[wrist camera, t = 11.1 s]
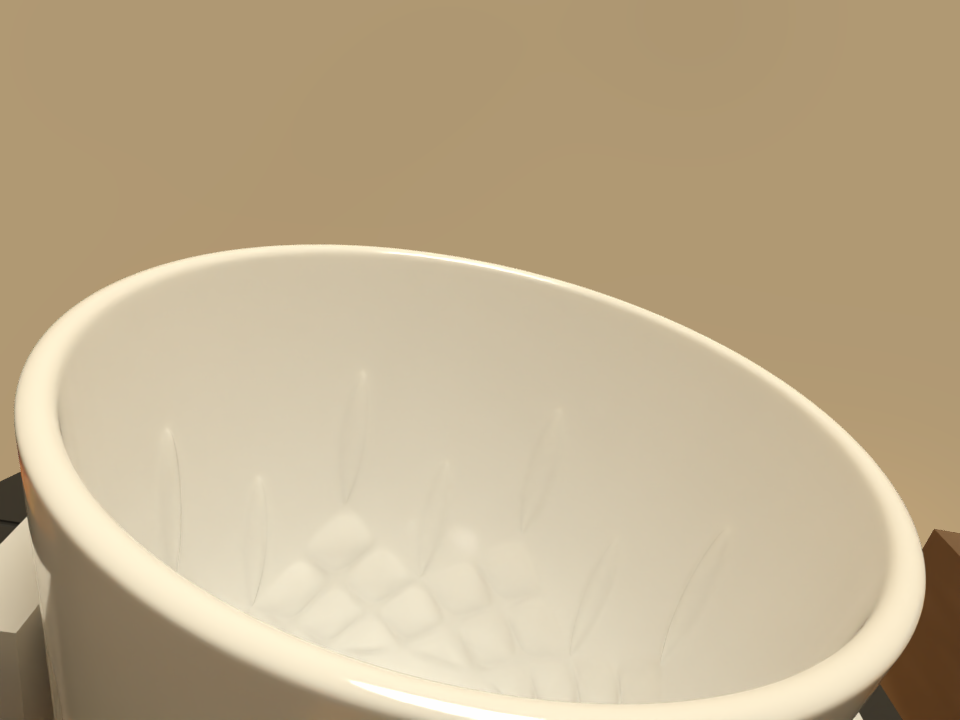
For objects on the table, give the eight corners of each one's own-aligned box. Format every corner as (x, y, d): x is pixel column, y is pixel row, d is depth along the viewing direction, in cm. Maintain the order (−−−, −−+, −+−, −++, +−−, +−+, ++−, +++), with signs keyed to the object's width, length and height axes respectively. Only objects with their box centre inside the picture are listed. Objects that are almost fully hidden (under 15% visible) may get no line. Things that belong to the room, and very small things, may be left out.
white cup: (255, 662, 15) (303, 209, 11) (611, 789, 14) (808, 344, 10) (-104, 1194, 8) (-353, 443, 4) (579, 1528, 7) (1237, 1008, 3)
